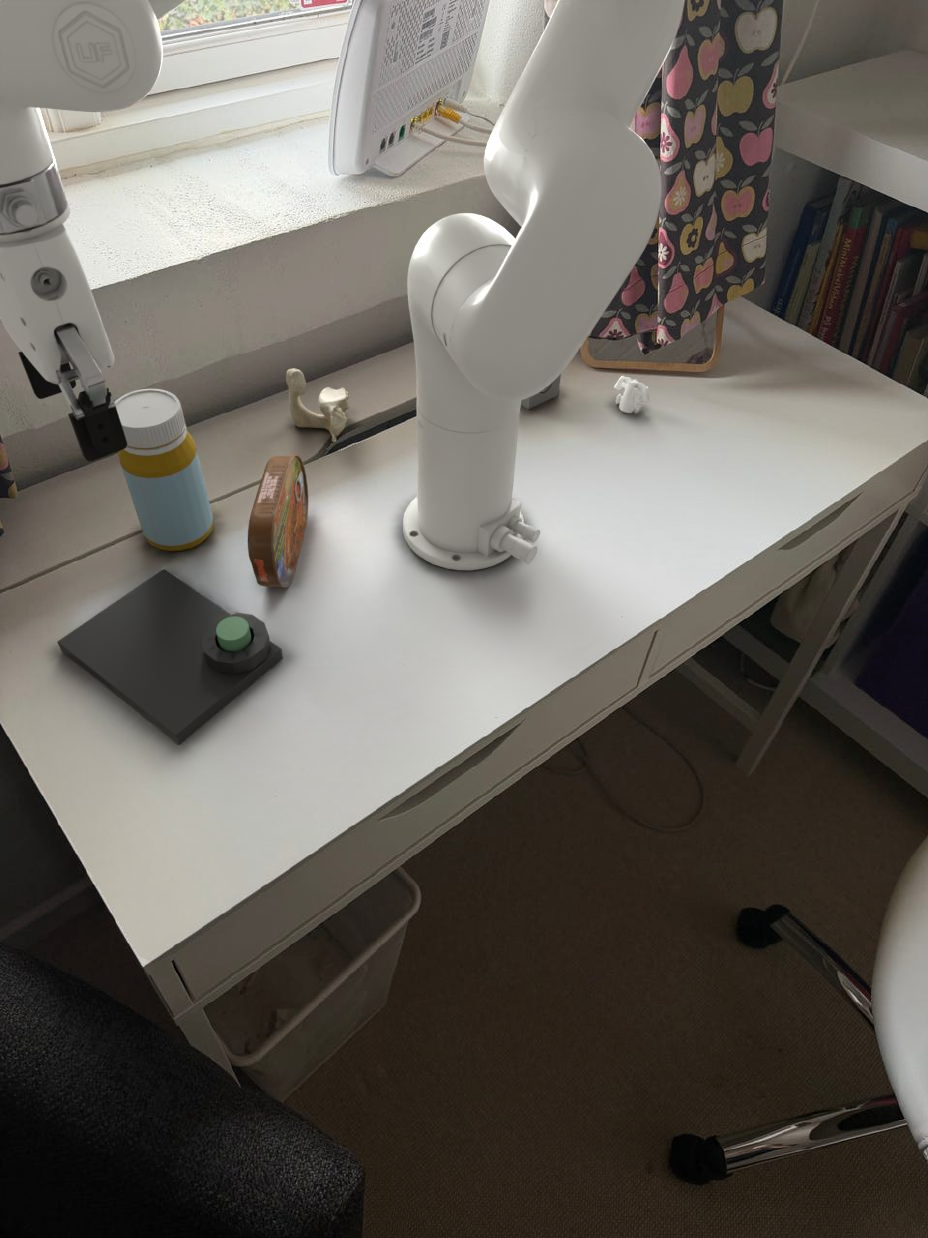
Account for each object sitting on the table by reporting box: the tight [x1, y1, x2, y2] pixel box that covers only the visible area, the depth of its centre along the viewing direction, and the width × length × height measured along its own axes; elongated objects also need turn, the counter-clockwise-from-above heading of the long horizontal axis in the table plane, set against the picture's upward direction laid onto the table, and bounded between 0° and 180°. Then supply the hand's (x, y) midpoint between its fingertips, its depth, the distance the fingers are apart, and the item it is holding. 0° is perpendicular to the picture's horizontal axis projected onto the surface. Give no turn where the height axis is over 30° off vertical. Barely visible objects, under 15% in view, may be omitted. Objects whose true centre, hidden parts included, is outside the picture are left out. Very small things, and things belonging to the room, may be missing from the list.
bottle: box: [114, 388, 215, 552], centre depth 85 cm, size 7×7×15 cm
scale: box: [56, 568, 284, 745], centre depth 78 cm, size 16×12×3 cm
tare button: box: [216, 617, 251, 652], centre depth 77 cm, size 3×3×2 cm
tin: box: [247, 454, 309, 589], centre depth 86 cm, size 15×3×8 cm, turn 177°
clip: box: [613, 375, 651, 414], centre depth 106 cm, size 5×2×4 cm, turn 50°
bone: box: [285, 367, 350, 444], centre depth 100 cm, size 9×6×10 cm
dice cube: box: [521, 373, 562, 410], centre depth 107 cm, size 5×5×5 cm
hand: (80, 421), depth 68 cm, fingers open, 9 cm apart
